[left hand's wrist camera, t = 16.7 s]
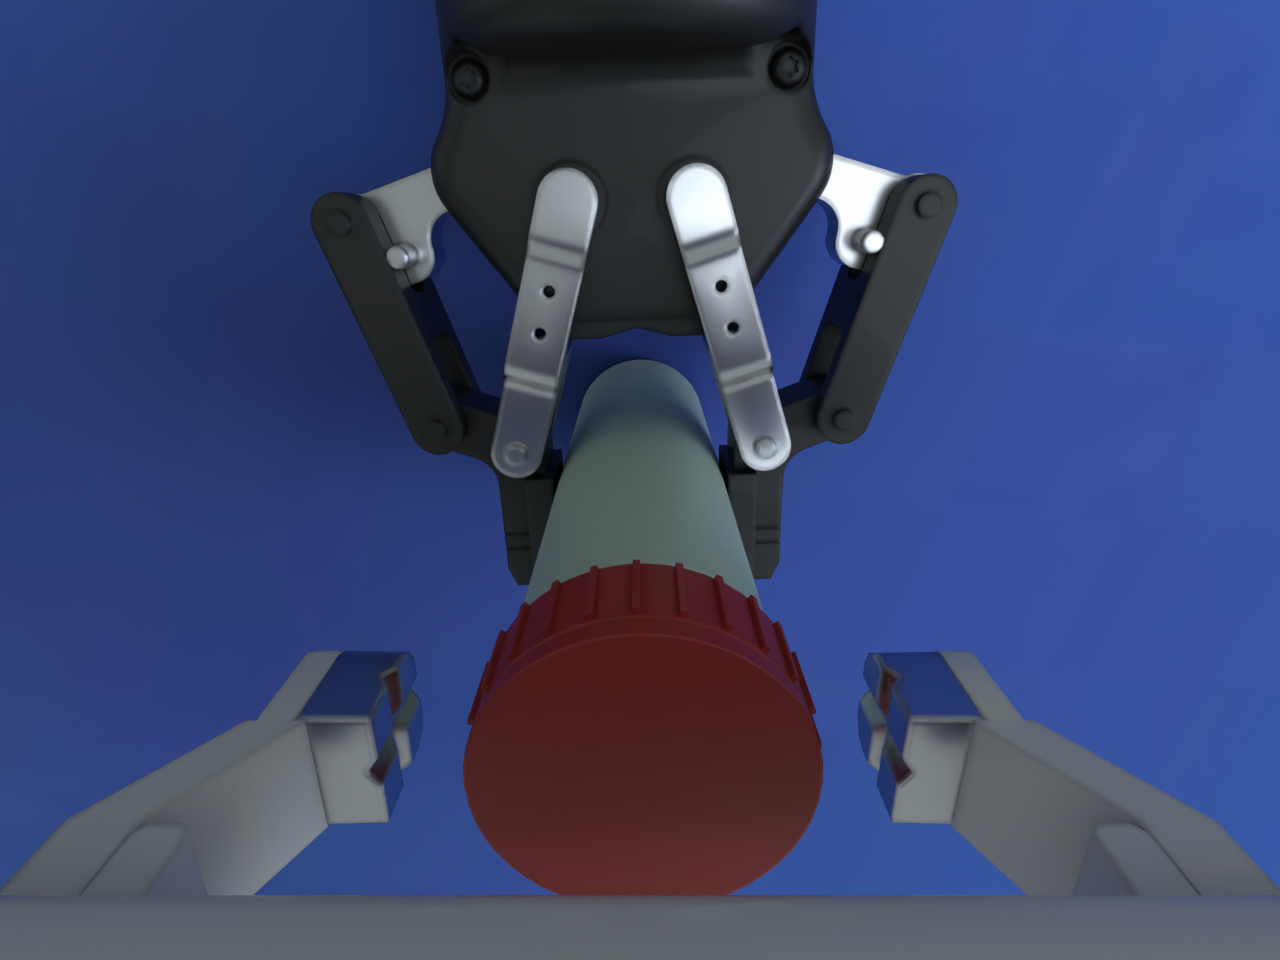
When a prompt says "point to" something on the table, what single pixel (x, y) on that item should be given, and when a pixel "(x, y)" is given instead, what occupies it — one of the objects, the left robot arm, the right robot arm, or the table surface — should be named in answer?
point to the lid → (643, 737)
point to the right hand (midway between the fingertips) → (645, 585)
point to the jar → (641, 485)
